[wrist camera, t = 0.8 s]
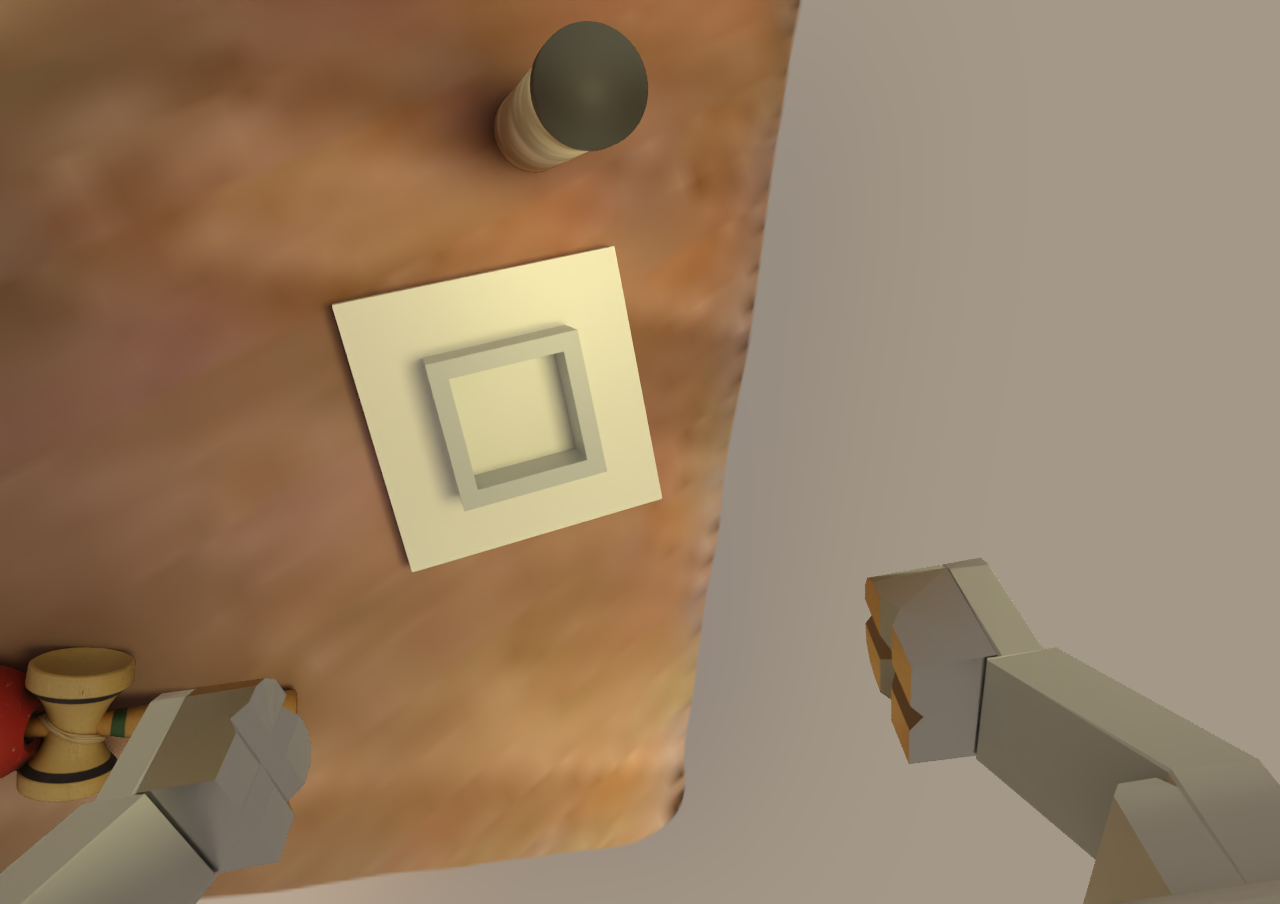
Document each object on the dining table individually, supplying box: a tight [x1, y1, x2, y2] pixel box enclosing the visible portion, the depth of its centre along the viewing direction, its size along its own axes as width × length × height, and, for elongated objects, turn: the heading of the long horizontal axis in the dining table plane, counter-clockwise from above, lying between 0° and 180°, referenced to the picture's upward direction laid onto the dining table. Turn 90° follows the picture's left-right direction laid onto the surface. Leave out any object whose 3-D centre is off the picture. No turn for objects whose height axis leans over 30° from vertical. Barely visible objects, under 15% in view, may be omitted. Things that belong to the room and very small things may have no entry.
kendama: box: [0, 647, 297, 802], centre depth 43 cm, size 8×6×18 cm
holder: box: [332, 246, 662, 572], centre depth 46 cm, size 16×16×4 cm
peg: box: [494, 21, 648, 172], centre depth 39 cm, size 5×5×13 cm
